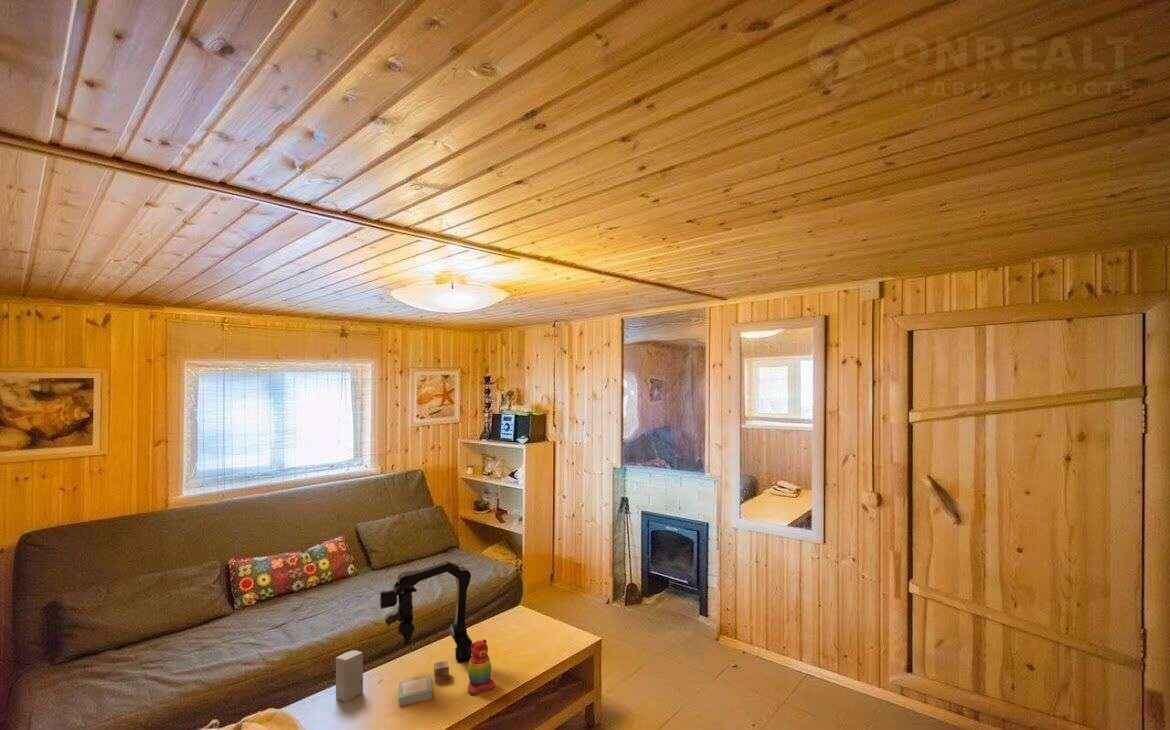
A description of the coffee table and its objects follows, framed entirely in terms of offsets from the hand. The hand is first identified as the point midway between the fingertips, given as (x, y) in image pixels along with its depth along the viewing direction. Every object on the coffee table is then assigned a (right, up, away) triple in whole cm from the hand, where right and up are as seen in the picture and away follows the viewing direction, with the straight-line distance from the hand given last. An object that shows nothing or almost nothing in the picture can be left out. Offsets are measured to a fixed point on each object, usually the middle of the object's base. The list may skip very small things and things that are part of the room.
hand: (406, 640), depth 226 cm
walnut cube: (+17, -13, -6) cm, 22 cm away
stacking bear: (+34, -12, -13) cm, 39 cm away
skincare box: (-17, -14, -16) cm, 27 cm away
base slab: (+9, -13, -17) cm, 23 cm away
